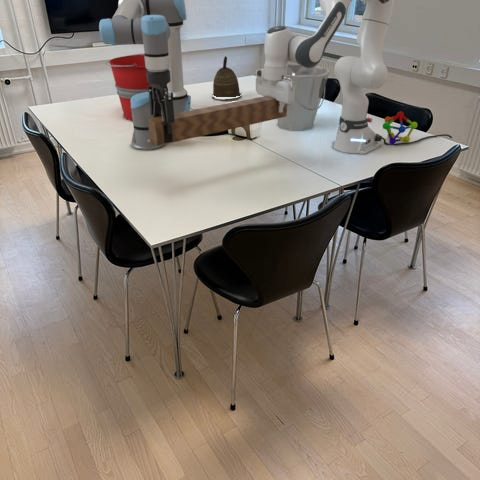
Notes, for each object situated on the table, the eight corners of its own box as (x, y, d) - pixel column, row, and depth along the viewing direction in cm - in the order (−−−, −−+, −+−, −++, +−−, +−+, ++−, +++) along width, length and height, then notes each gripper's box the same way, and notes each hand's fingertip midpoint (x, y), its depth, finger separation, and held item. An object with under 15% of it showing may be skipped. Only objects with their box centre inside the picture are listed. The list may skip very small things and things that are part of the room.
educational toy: (377, 146, 209) (379, 114, 202) (384, 138, 219) (386, 107, 211) (411, 149, 202) (415, 116, 195) (417, 141, 212) (420, 109, 204)
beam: (157, 146, 150) (154, 123, 146) (150, 141, 154) (147, 118, 150) (286, 116, 178) (287, 96, 174) (277, 113, 182) (278, 93, 177)
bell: (227, 105, 294) (202, 96, 282) (238, 66, 289) (213, 55, 277) (243, 108, 280) (217, 98, 268) (255, 66, 275) (229, 55, 263)
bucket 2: (296, 138, 215) (301, 78, 201) (255, 124, 234) (256, 68, 219) (335, 125, 232) (342, 70, 217) (294, 113, 251) (297, 61, 236)
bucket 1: (123, 106, 262) (116, 51, 247) (182, 106, 262) (178, 52, 246) (106, 123, 233) (97, 63, 217) (172, 124, 232) (168, 64, 216)
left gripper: (182, 73, 137) (187, 145, 149) (155, 63, 149) (161, 130, 162) (160, 76, 133) (167, 149, 146) (134, 65, 146) (142, 134, 158)
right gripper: (299, 77, 163) (297, 114, 171) (265, 68, 177) (264, 103, 185) (286, 79, 160) (285, 117, 168) (253, 70, 174) (252, 105, 182)
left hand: (164, 139), depth 154 cm, fingers closed on beam, 6 cm apart
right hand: (274, 109), depth 176 cm, fingers closed on beam, 5 cm apart
